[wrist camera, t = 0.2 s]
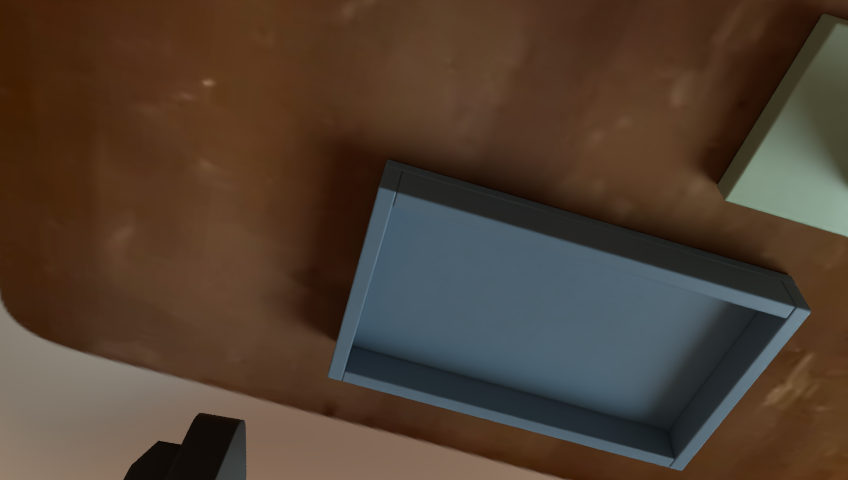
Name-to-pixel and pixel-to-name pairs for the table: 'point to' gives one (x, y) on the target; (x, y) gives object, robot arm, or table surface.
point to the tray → (555, 319)
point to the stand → (801, 139)
